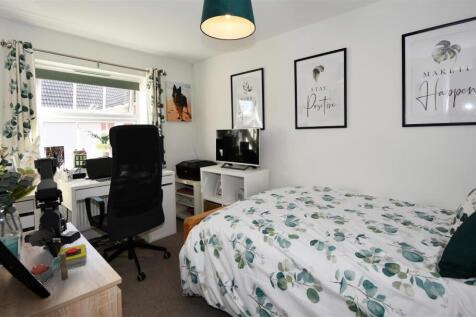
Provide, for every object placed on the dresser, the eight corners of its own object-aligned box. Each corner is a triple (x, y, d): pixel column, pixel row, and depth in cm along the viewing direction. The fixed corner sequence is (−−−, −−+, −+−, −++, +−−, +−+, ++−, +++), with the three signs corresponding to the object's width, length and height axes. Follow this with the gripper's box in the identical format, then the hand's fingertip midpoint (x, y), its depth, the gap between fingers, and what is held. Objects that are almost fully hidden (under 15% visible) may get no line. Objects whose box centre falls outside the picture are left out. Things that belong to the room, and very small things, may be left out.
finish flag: (64, 276, 92) (61, 252, 90) (69, 276, 92) (66, 252, 90) (52, 286, 86) (49, 260, 85) (58, 286, 86) (55, 261, 85)
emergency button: (56, 260, 95) (59, 244, 108) (57, 272, 96) (60, 254, 108) (85, 254, 99) (85, 238, 112) (86, 264, 100) (86, 248, 113)
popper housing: (39, 275, 92) (38, 266, 92) (53, 276, 92) (52, 266, 92) (26, 284, 87) (25, 274, 87) (41, 285, 87) (40, 275, 86)
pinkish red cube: (39, 271, 91) (38, 261, 91) (49, 272, 91) (48, 262, 91) (30, 278, 88) (28, 267, 87) (40, 278, 87) (39, 268, 87)
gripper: (7, 227, 92) (13, 268, 94) (58, 228, 91) (62, 270, 93) (34, 215, 103) (39, 253, 105) (79, 216, 102) (83, 254, 104)
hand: (55, 257), depth 101 cm, fingers closed
